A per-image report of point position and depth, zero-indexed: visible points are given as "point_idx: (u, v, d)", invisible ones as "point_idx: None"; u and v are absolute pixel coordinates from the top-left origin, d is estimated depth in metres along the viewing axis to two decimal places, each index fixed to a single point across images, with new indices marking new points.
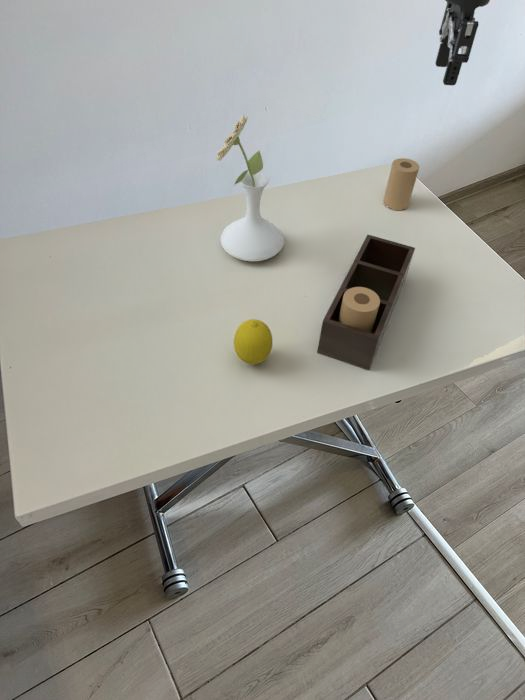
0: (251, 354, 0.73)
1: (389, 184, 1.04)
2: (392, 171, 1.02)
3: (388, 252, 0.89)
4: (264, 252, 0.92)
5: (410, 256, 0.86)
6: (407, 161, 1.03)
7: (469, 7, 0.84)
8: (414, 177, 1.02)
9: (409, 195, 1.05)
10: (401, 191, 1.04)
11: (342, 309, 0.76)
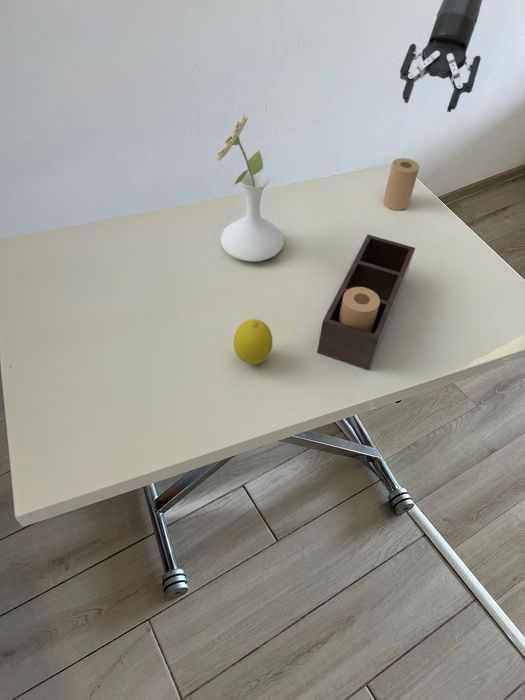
0: (251, 354, 0.73)
1: (389, 184, 1.04)
2: (392, 171, 1.02)
3: (388, 252, 0.89)
4: (264, 252, 0.92)
5: (410, 256, 0.86)
6: (407, 161, 1.03)
7: (466, 50, 1.02)
8: (414, 177, 1.02)
9: (409, 195, 1.05)
10: (401, 191, 1.04)
11: (342, 309, 0.76)
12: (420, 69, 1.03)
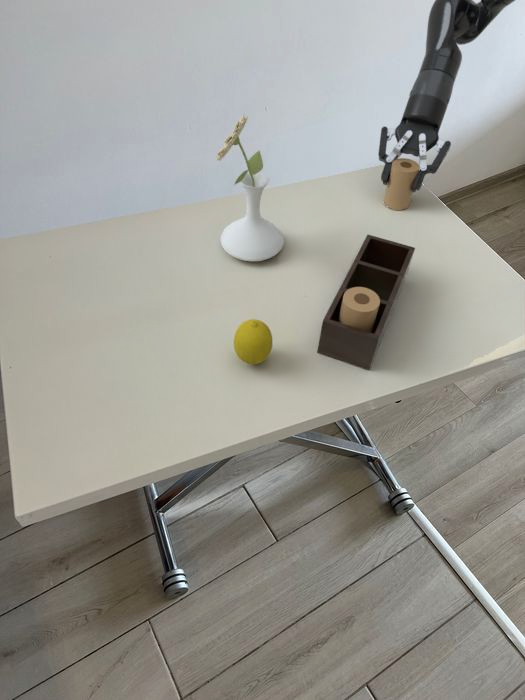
0: (251, 354, 0.73)
1: (389, 184, 1.04)
2: (392, 171, 1.02)
3: (388, 252, 0.89)
4: (264, 252, 0.92)
5: (410, 256, 0.86)
6: (407, 161, 1.03)
7: None
8: (414, 177, 1.02)
9: (409, 195, 1.05)
10: (401, 191, 1.04)
11: (342, 309, 0.76)
12: (397, 151, 1.02)
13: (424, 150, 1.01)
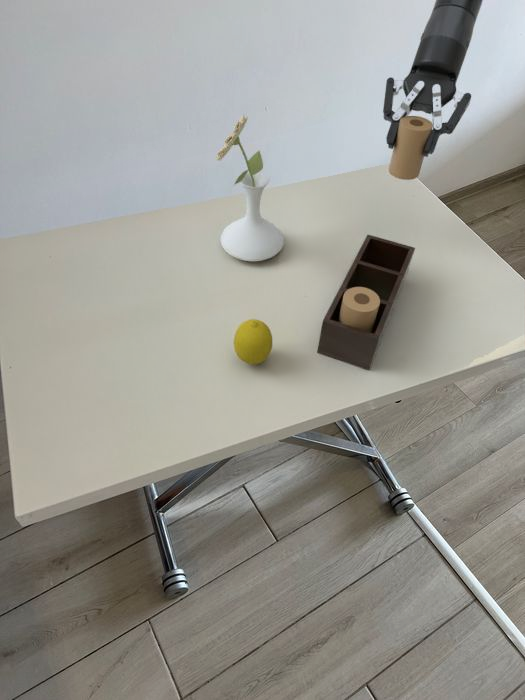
0: (251, 354, 0.73)
1: (396, 147, 0.87)
2: (400, 130, 0.85)
3: (388, 252, 0.89)
4: (264, 252, 0.92)
5: (410, 256, 0.86)
6: (418, 119, 0.85)
7: (456, 80, 0.84)
8: (426, 138, 0.84)
9: (420, 161, 0.87)
10: (410, 155, 0.86)
11: (342, 309, 0.76)
12: (405, 107, 0.85)
13: (439, 104, 0.83)
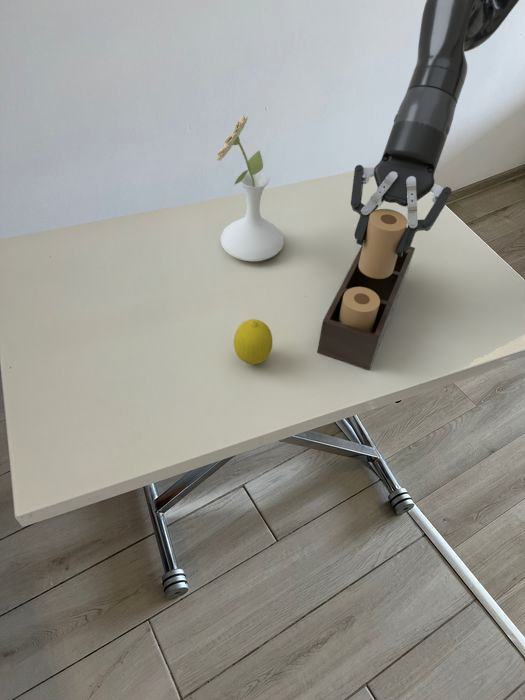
0: (251, 354, 0.73)
1: (366, 244, 0.75)
2: (369, 228, 0.73)
3: None
4: (264, 252, 0.92)
5: (410, 256, 0.86)
6: (391, 213, 0.74)
7: None
8: (400, 237, 0.73)
9: (393, 259, 0.76)
10: (382, 255, 0.74)
11: (342, 309, 0.76)
12: (376, 200, 0.73)
13: (414, 200, 0.72)
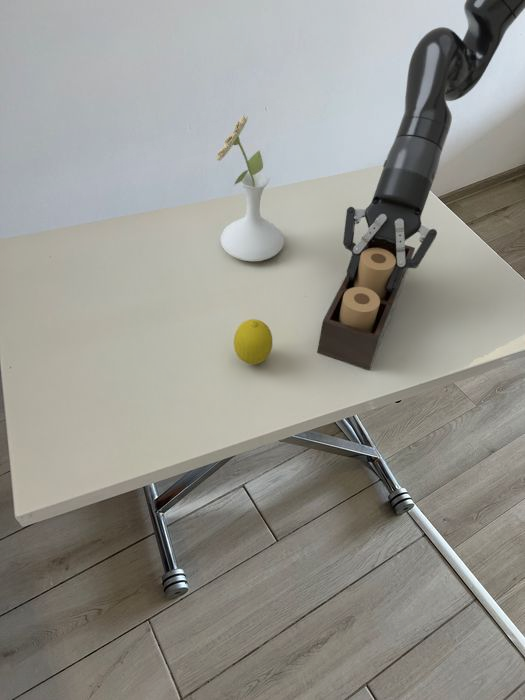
0: (251, 354, 0.73)
1: (357, 281, 0.80)
2: (360, 266, 0.78)
3: None
4: (264, 252, 0.92)
5: (410, 256, 0.86)
6: (380, 252, 0.79)
7: None
8: (389, 275, 0.78)
9: (383, 294, 0.81)
10: None
11: (342, 309, 0.76)
12: (366, 240, 0.78)
13: (402, 240, 0.77)
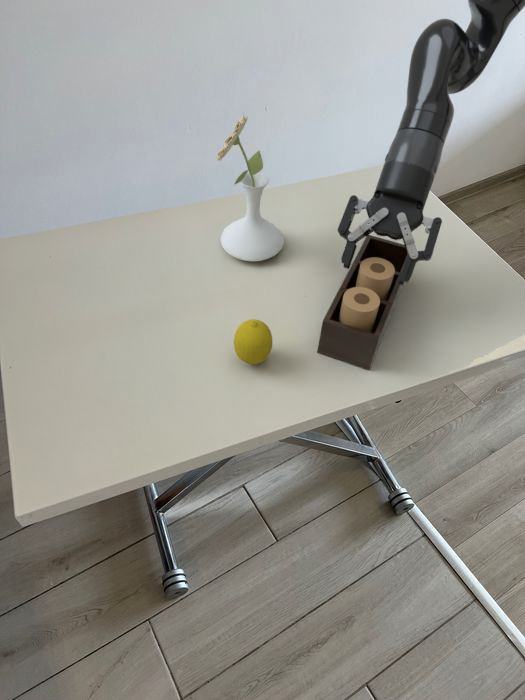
0: (251, 354, 0.73)
1: None
2: (360, 276, 0.79)
3: (388, 252, 0.89)
4: (264, 252, 0.92)
5: None
6: (380, 262, 0.80)
7: None
8: (388, 284, 0.79)
9: None
10: None
11: (342, 309, 0.76)
12: (363, 230, 0.78)
13: (404, 235, 0.76)
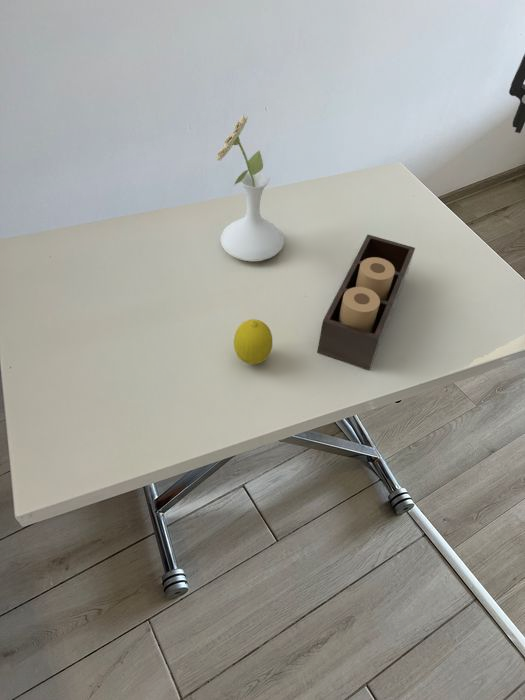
0: (251, 354, 0.73)
1: None
2: (360, 276, 0.79)
3: (388, 252, 0.89)
4: (264, 252, 0.92)
5: (410, 256, 0.86)
6: (380, 262, 0.80)
7: None
8: (388, 284, 0.79)
9: None
10: None
11: (342, 309, 0.76)
12: None
13: None
